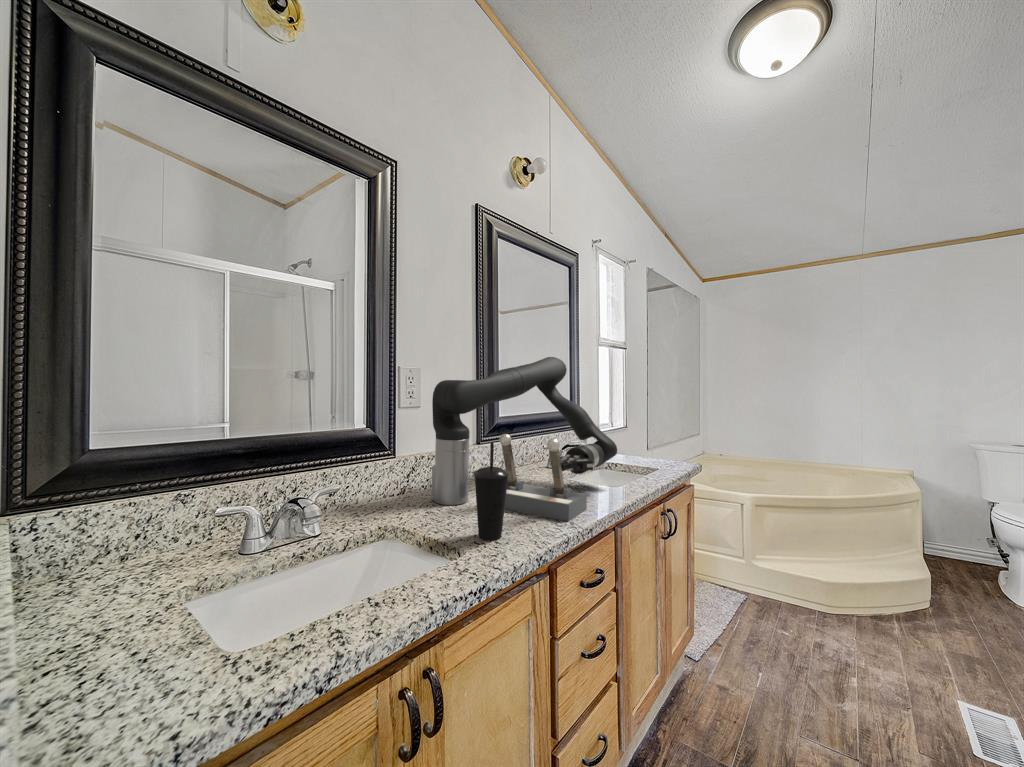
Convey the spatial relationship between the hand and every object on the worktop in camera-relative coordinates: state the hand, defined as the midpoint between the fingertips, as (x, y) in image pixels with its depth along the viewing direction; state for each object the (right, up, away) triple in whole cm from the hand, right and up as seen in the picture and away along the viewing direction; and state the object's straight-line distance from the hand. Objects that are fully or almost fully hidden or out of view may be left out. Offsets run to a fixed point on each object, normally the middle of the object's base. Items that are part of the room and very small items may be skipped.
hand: (558, 467), depth 109 cm
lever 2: (+1, -7, +1) cm, 7 cm away
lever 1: (-12, -6, +8) cm, 15 cm away
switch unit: (-6, -11, +5) cm, 14 cm away
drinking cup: (-17, -11, -18) cm, 27 cm away
